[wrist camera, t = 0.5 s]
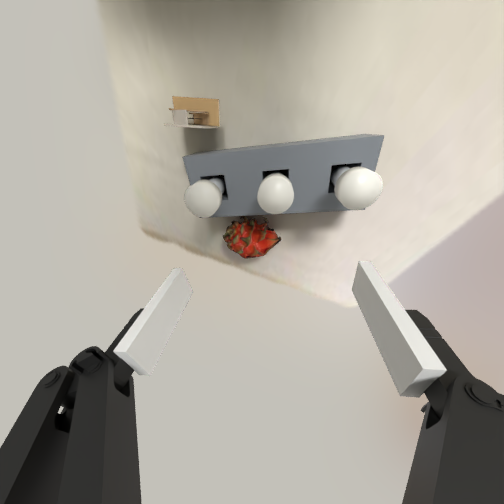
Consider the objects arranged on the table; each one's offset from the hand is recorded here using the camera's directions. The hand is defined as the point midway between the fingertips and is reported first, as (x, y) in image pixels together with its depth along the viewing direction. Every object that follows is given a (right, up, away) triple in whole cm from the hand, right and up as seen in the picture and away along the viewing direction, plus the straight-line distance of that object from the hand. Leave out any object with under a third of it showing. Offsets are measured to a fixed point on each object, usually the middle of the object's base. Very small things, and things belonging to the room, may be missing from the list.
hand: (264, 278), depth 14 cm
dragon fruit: (-1, +7, +26) cm, 27 cm away
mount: (+3, +16, +19) cm, 25 cm away
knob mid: (+3, +14, +15) cm, 21 cm away
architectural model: (-9, +24, +16) cm, 31 cm away
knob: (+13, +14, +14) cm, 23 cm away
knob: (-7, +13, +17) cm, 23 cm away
